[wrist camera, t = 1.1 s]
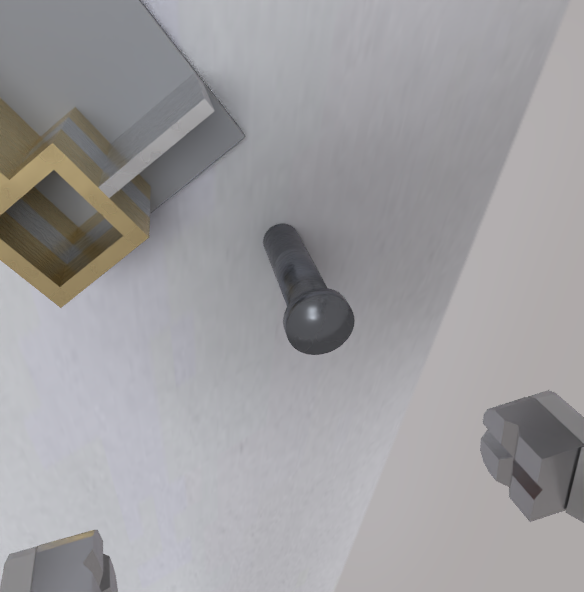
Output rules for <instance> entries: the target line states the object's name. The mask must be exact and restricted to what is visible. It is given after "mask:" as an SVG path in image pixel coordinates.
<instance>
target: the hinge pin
mask: <svg viewBox="0 0 584 592" xmlns="http://www.w3.org/2000/svg"><path fill="white" fill-rule="evenodd" d="M263 244H264V247H265V250H266V253H267V255H268V258H269V260H270V263H271V265H272V268H273V271H274V273H275V276H276V278H277V281H278V283H279V286H280V289H281V291H282V294H283V296H284V299H285V301H286V304H287V309H286V311H285V314H284V318H283V325H284V329H285V332H286V335H287V337H288V340H289V342H290V343H291V345H292V346H293V347H294V348H295V349H297V350H298V351H300V352H302V353H305V354H311V355H319V354H324V353H328V352H331V351H333V350H335V349H336V348H338V347H340V346H341V345H342V344H343V343H344V342H345V341H346V340H347V339H348V337H349V336H350V334H351V332H352V330H353V327H354V315H353V312H352V309H351V308H350V306H349V304H348V302H347V301H346V299H345V298H344V297H343V296H342V295H341V294H340V293H339V292H337V291H335V290H332V289H328V288H327V287H326V285H325V283H324V281H323V279H322V277H321V275H320V274H319V272H318V270H317V268H316V266H315V264H314V262H313V261H312V259H311V257H310V255H309V253H308V251H307V249H306V247H305V246H304V244H303V242H302V240H301V238H300V236H299V234H298V233H297V231H296V230H295V228H293V227H292V226H290V225H288V224H278V225H275V226H273V227H271V228H270V229H269V230H268V231H267V232H266V234H265V236H264V240H263Z"/></svg>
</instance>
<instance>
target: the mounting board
mask: <svg viewBox="0 0 584 592" xmlns="http://www.w3.org/2000/svg"><path fill="white" fill-rule="evenodd" d="M193 73H196V71H195V70H194V69H193V67H192V66H191V65H190V64H189V62H188V61H187V60H186V58H185V57H184V56H183V55H182V53H181V52H180V51H179V49H178V48H177V47H176V46H175V44H174V43H173V42H172V40H171V39H170V38H169V37H168V35H167V34H166V33H165V31H164V30H163V29H162V28H161V26H160V25H159V24H158V22H157V21H156V20H155V19H154V17H153V16H152V15H151V13H150V12H149V11H148V10H147V8H146V7H145V6H144V4H143V3H142V2H141V1H140V0H0V98H1V99H2V100H4V101H5V102H6V103H7V104H8V105H9V106H10V107H11V108H12V109H13V110H14V111H15V112H16V113H17V114H18V115H19V116H20V117H21V118H22V119H23V120H24V121H25V122H26V123H27V124H28V125H29V126H30V127H31V128H32V129H33V130H34V131H35V132H36V133H37V134H38V135H39V136H40V137H41V136H42V135H43V134H44V133H45V132H47V131H48V130H49V129H50V128H51V127H52V126H53V125H55V124H56V123H57V122H58V121H59V120H60V119H61V118H63V117H64V116H65V115H66V114H67V113H68V112H69V111H71V110H72V109H73V108H74V107H76V108H77V109H78V110H79V111H80V112H81V113H82V114H83V115H84V117H85V118H86V119H87V120H88V121H89V122H90V123H91V124H92V125H93V126H94V127H95V128H96V129H97V130H98V131H99V132H100V133H101V134H102V135H103V137H104V138H105V139H106V140H107V141H108V142H109V143H110V144H111V143H112V142H113V141H114V140H115V139H117V138H118V137H119V136H120V135H121V134H123V133H124V132H125V131H126V130H127V129H128V128H130V127H131V126H132V125H133V124H134V123H136V122H137V121H138V120H139V119H140V118H141V117H143V116H144V115H145V114H146V113H147V112H149V111H150V110H151V109H152V108H153V107H154V106H156V105H157V104H158V103H159V102H160V101H162V100H163V99H164V98H165V97H166V96H167V95H169V94H170V93H171V92H172V91H173V90H174V89H176V88H177V87H178V86H179V85H180V84H182V83H183V82H184V81H185V80H186V79H187V78H189V77H190V76H191V75H192V74H193ZM196 74H197V73H196ZM197 76H198V77H199V78H200V76H199V75H198V74H197ZM200 79H201V78H200ZM201 81H202V82H203V80H202V79H201ZM203 84H204V86H205V89H206V91H207V94H208V96H209V99H210V101H211V103H212V106H213V108H214V112H213V113H212V114H210V115H209V116H208V117H207V118H206V119H204V120H203V121H202V122H201V123H200V124H198V125H197V126H196V127H195V128H194V129H192V130H191V131H190V132H189V133H187V134H186V135H185V136H184V137H183V138H181V139H180V140H179V141H178V142H177V143H175V144H174V145H173V146H172V147H171V148H169V149H168V150H167V151H166V152H164V153H163V154H162V155H161V156H160V157H158V158H157V159H156V160H155V161H154V162H152V163H151V164H150V165H149V166H148V167H146V168H145V169H144V170H143V171H142V172H140V173H139V174H140V175H141V177H142V178H143V179H144V180H145V181H146V182H147V183H148V184H149V185H150V186H151V194H150V213H152V212H153V211H154V210H155V209H156V208H158V207H159V206H160V205H161V204H163V203H164V202H165V201H166V200H168V199H169V198H170V197H171V196H173V195H174V194H175V193H176V192H177V191H179V190H180V189H181V188H182V187H184V186H185V185H186V184H187V183H189V182H190V181H191V180H192V179H194V178H195V177H196V176H197V175H198V174H200V173H201V172H202V171H203V170H205V169H206V168H207V167H208V166H210V165H211V164H212V163H213V162H215V161H216V160H217V159H218V158H220V157H221V156H222V155H223V154H224V153H226V152H227V151H228V150H229V149H231V148H232V147H233V146H234V145H236V144H237V143H238V142H239V141H241V140H242V139H243V138H244V137H245V135H244V134H243V132H242V130H241V129H240V128H239V127H238V125H237V124H236V123H235V121H234V120H233V119H232V118H231V116H230V115H229V114H228V112H227V111H226V110H225V109H224V107H223V106H222V105H221V103H220V102H219V101H218V100H217V98H216V97H215V96H214V94H213V93H212V92H211V91H210V89H209V88H208V87H207V85H206V84H205V83H204V82H203ZM34 187H35V188H36V189H37V190H38V191H39V192H40V193H42V194H43V195H44V196H45V197H46V198H47V199H48V200H49V201H50V202H51V203H53V204H54V205H55V206H56V207H57V208H58V209H59V210H60V211H61V212H62V213H64V214H65V215H66V216H67V217H68V218H69V219H70V220H71V221H72V222H73V223H75V224H76V225H77V226H78V227H79V226H81V225H82V224H83V223H84V222H85V221H87V220H88V219H89V218H90V217H92V216H93V215H94V214H95V213H96V212H98V211H97V210H96V209H95V208H94V207H93V206H92V205H91V204H90V203H88V202H87V201H86V200H85V199H84V198H83V197H82V196H81V195H80V194H79V193H78V192H77V191H76V190H75V189H74V188H73V187H72V186H71V185H70V184H68V183H67V182H66V181H65V180H64V179H63V178H62V177H61V176H60V175H59V174H58V173H57V172H56V171H55V170H53V171H52V172H51V173H49V174H48V175H47V176H46V177H45V178H44V179H42V180H41V181H40V182H39V183H38V184H37V185H35V186H34Z"/></svg>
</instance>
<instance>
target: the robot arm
mask: <svg viewBox="0 0 584 592" xmlns="http://www.w3.org/2000/svg"><path fill="white" fill-rule="evenodd" d="M483 424H484V425H485V426H486V428H487V429H488V430H487V431H486V432H485V434H484V435H483V437H482V438H481V448H480V451H481V454H482V458H483V462H484V464H485V466H486V467H487V469H488V471H489V473H490V474H491V475H492V476H493V478H494V479H495V480H496V481H498V482H500V483H502V484H504V485H507V486H509V497H510V499H511V500H512V501H513V502H514V503H515V505H516V506H517V507H518V508H519V509H520V511H521V512H522V513H523V514H524V515H525V516H526V518H527V519H528V520H529V521H530V522H531V521H534V520H537V519H540V518H543V517H546V516H550V515H552V514H556V513H559V512H562V511H565V510H566V513H568V514H569V515H571V516H573V517H575V518H576V519H578V520H580V521H582V522H584V417H583V416H582V415H581V414H579V413H578V412H577V411H576V410H575V409H574V408H572V407H571V406H570V405H569V404H568V403H566V401H564V400H563V399H562V398H561V397H560V396H559V395H557V394H556V393H554V392H552V391H549V390H548V391H545V392H541V393H539V394H535V395H532V396H529V397H524V398H521V399H518V400H515V401H512V402H509V403H505V404H502V405H499V406H496V407H493V408H490V409H487V411H486V412H485V414H484V417H483ZM0 592H118V588H117V581H116V575H115V571H114V568H113V564H112V562H111V559H110V557H109V556H107V555H105V554H103V540H102V538H101V536H100V534H99V532H98V530H92V531H89V532H85V533H81V534H78V535H74V536H71V537H67V538H64V539H60V540H56V541H53V542H49V543H46V544H42V545H39V546H36V547H33V548H29V549H26V550H22V551H19V552H15V553H12V554H9V556H8V558H7V560H6V562H5V564H4V569H3V575H2V581H1V586H0Z"/></svg>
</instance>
